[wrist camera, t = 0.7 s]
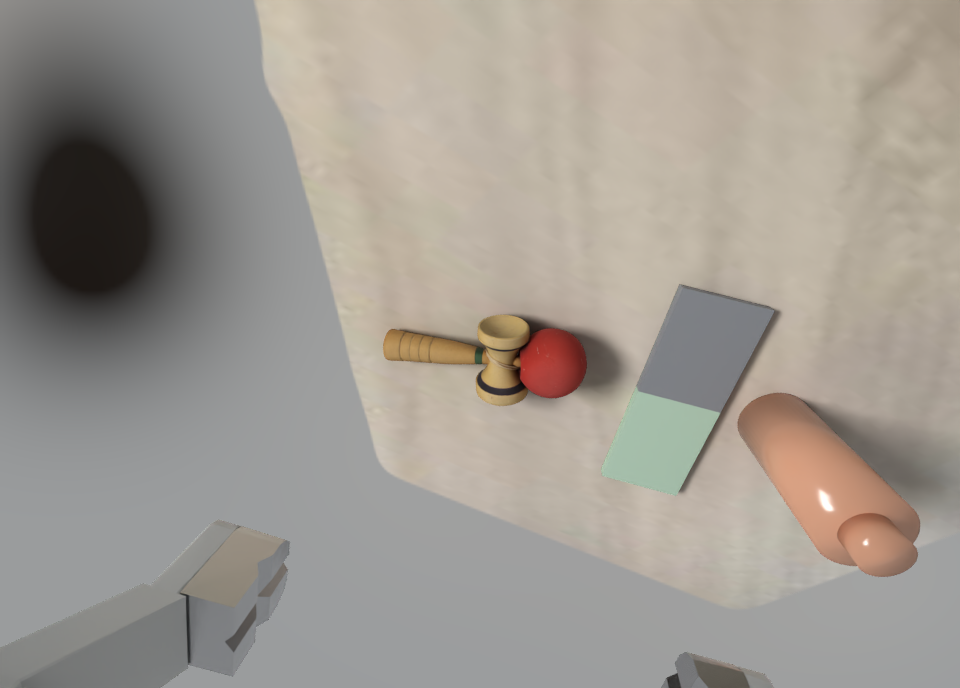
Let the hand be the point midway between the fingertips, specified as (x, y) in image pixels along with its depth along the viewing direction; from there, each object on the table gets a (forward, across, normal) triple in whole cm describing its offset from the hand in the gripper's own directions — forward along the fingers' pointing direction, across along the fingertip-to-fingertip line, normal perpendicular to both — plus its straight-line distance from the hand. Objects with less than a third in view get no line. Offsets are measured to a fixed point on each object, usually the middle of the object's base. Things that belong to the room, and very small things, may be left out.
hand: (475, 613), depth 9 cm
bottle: (+32, -25, +7) cm, 42 cm away
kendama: (+33, +2, +7) cm, 34 cm away
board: (+32, -16, +7) cm, 37 cm away
